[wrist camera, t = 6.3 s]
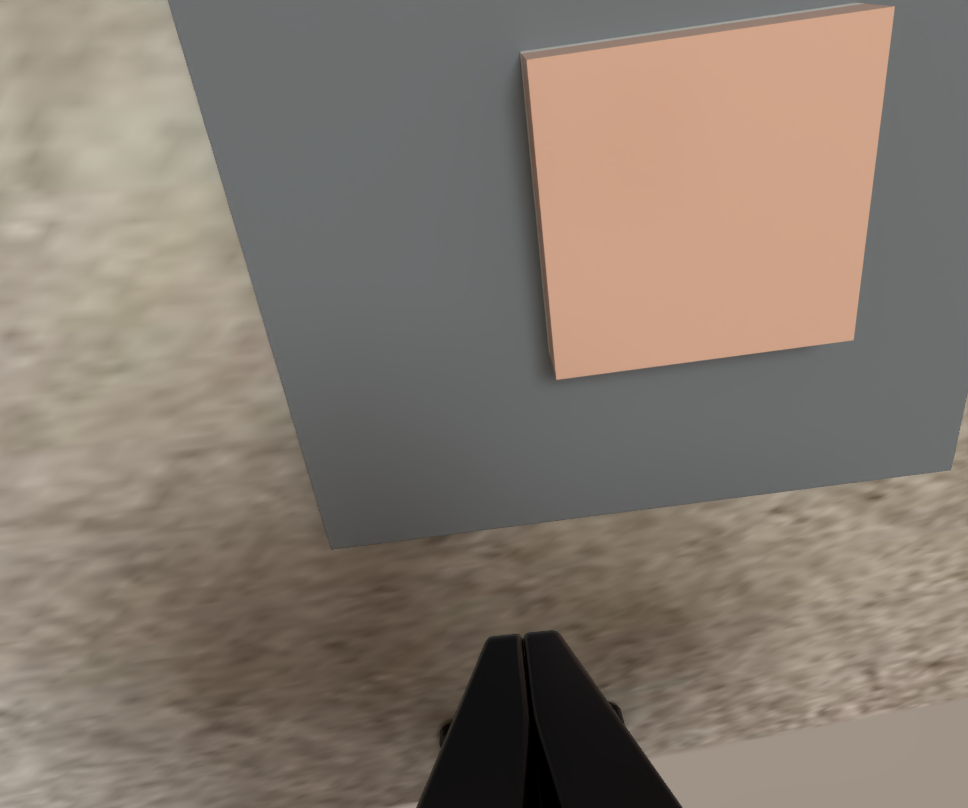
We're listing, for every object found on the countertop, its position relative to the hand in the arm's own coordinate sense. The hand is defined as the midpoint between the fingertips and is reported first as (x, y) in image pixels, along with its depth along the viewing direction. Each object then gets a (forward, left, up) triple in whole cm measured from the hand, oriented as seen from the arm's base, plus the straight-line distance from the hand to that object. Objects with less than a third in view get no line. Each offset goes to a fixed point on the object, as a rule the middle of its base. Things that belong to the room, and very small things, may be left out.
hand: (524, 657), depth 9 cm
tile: (+2, -1, -10) cm, 11 cm away
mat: (+2, -4, -12) cm, 12 cm away
